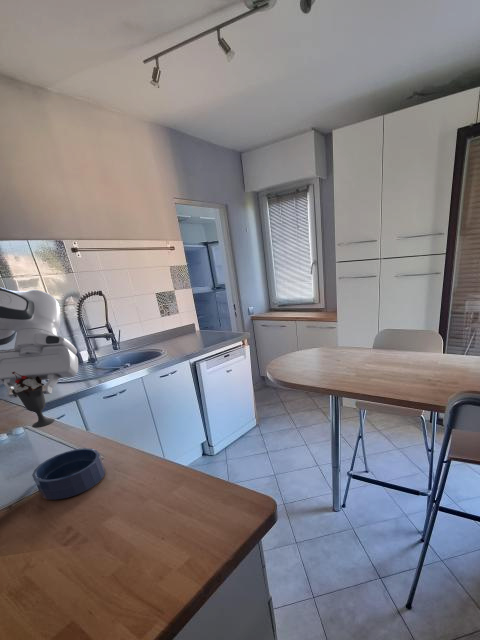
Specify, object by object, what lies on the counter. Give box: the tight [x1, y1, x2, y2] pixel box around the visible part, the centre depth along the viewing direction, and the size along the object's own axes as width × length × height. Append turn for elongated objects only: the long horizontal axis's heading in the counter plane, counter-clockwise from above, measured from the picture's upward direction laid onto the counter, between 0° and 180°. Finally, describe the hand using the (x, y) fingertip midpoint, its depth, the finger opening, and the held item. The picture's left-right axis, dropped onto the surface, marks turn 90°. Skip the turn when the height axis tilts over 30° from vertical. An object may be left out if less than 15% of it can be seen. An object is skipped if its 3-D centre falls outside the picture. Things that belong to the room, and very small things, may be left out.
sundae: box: [12, 372, 56, 429], centre depth 84 cm, size 7×7×15 cm
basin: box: [31, 447, 106, 501], centre depth 87 cm, size 15×15×6 cm
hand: (29, 395), depth 83 cm, fingers closed on sundae, 6 cm apart
